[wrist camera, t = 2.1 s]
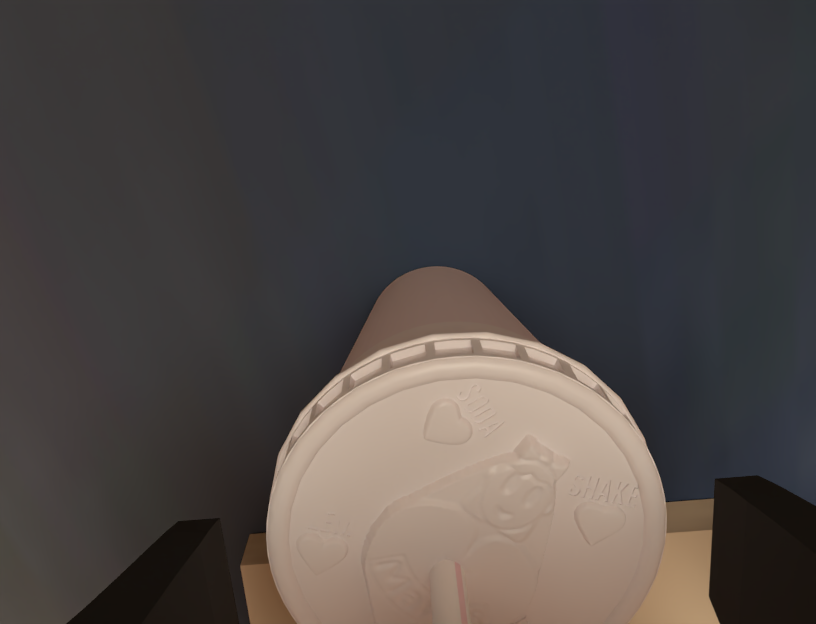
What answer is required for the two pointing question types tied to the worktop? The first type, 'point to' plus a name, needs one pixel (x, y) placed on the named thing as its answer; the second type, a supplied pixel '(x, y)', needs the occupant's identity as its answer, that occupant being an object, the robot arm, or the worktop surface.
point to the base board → (655, 620)
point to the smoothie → (462, 477)
